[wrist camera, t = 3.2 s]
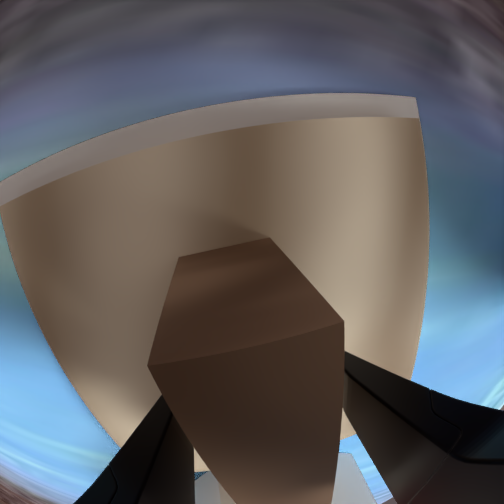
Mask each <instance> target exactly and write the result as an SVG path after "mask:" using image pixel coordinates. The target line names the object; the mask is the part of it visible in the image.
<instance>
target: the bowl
mask: <svg viewBox="0 0 504 504" xmlns="http://www.w3.org/2000/svg"><path fill="white" fill-rule="evenodd" d="M195 504H236V503H235V502H234V501H233V499H232V498H231V497H230V496H229V495H228V493H227V492H226V491H225V490H224V488H223V487H222V486H221V484H220V483H219V482H218V481H217V479H216V478H215V477H214V475H213V474H212V473H211V471H208V472H206V473H205V474H203V475H202V476H201V477H199V478H198V479H196V480H195ZM331 504H377V503H376V501H375V499H374V497H373V495H372V493H371V491H370V489H369V487H368V485H367V483H366V481H365V479H364V477H363V475H362V473H361V471H360V469H359V467H358V465H357V463H356V462H355V460H354V458H353V456H352V454H349V453H339V454H338V462H337V470H336V477H335V484H334V491H333V497H332V503H331Z"/></svg>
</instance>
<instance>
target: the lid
mask: <svg viewBox="0 0 504 504" xmlns="http://www.w3.org/2000/svg"><path fill="white" fill-rule="evenodd" d="M0 212H1V217H2V221H3V225H4V229H5V233H6V237H7V241H8V244H9V248H10V251H11V254H12V258H13V261H14V264H15V267H16V270H17V273H18V276H19V278H20V281H21V284H22V286H23V289H24V292H25V294H26V297H27V299H28V301H29V304H30V306H31V308H32V311H33V313H34V315H35V317H36V320H37V322H38V324H39V326H40V328H41V330H42V332H43V334H44V336H45V338H46V340H47V342H48V344H49V346H50V348H51V349H52V351H53V353H54V355H55V357H56V358H57V360H58V362H59V364H60V365H61V367H62V369H63V370H64V372H65V374H66V375H67V377H68V378H69V380H70V382H71V383H72V385H73V386H74V388H75V389H76V391H77V392H78V394H79V395H80V397H81V398H82V400H83V401H84V402H85V404H86V405H87V407H88V408H89V409H90V411H91V412H92V413H93V415H94V416H95V417H96V419H97V420H98V421H99V423H100V424H101V425H102V426H103V428H104V429H105V430H106V431H107V433H108V434H109V435H110V436H111V437H112V438H113V440H114V441H115V442H116V443H117V444H118V445H119V447H120V448H121V447H122V446H123V445H124V444H125V442H126V441H127V440H128V438H129V437H130V436H131V434H132V433H133V432H134V430H135V429H136V428H137V426H138V425H139V424H140V422H141V421H142V420H143V419H144V417H145V416H146V415H147V413H148V412H149V411H150V409H151V408H152V407H153V405H154V404H155V403H156V401H157V400H158V399H159V397H160V396H161V395H163V397H164V399H165V401H166V403H167V404H168V406H169V408H170V410H171V411H172V413H173V415H174V417H175V418H176V420H177V422H178V423H179V425H180V427H181V428H182V430H183V431H184V433H185V435H186V436H187V438H188V439H189V441H190V442H191V444H192V445H193V447H194V472H202V471H211V473H212V474H213V475H214V477H215V478H216V479H217V481H218V482H219V483H220V484H221V486H222V487H223V488H224V490H225V491H226V492H227V493H228V495H229V496H230V497H231V498H232V499H233V501H234V502H235V503H236V504H331V503H332V497H333V491H334V484H335V477H336V470H337V462H338V454H339V445H340V440H342V439H344V438H347V437H350V436H352V435H355V434H356V432H355V430H354V429H353V427H352V425H351V424H350V422H349V420H348V418H347V416H346V414H345V412H344V410H343V390H344V354H345V351H347V352H349V353H351V354H353V355H355V356H357V357H359V358H362V359H364V360H366V361H368V362H370V363H372V364H374V365H377V366H379V367H381V368H383V369H385V370H388V371H390V372H392V373H394V374H397V375H399V376H401V377H403V378H406V379H408V380H411V376H412V372H413V367H414V363H415V358H416V353H417V348H418V343H419V337H420V332H421V325H422V319H423V311H424V303H425V294H426V284H427V271H428V252H429V205H428V186H427V173H426V163H425V154H424V146H423V139H422V132H421V126H420V120H419V118H402V117H346V118H325V119H311V120H299V121H289V122H280V123H272V124H264V125H257V126H250V127H244V128H237V129H231V130H226V131H220V132H215V133H210V134H205V135H200V136H196V137H191V138H187V139H182V140H178V141H174V142H170V143H166V144H162V145H158V146H154V147H151V148H147V149H143V150H140V151H137V152H133V153H130V154H127V155H123V156H120V157H117V158H114V159H111V160H108V161H105V162H102V163H99V164H96V165H93V166H91V167H88V168H85V169H82V170H80V171H77V172H74V173H72V174H69V175H67V176H64V177H62V178H59V179H57V180H55V181H52V182H50V183H48V184H45V185H43V186H41V187H39V188H36V189H34V190H32V191H30V192H28V193H26V194H24V195H21V196H19V197H17V198H15V199H13V200H11V201H9V202H8V203H6V204H4V205H2V206H0Z"/></svg>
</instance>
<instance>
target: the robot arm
mask: <svg viewBox="0 0 504 504" xmlns="http://www.w3.org/2000/svg"><path fill="white" fill-rule="evenodd" d="M343 410H344V412H345V414H346V416H347V418H348V420H349V422H350V424H351V425H352V427H353V429H354V430H355V432H356V434H357V435H358V437H359V439H360V441H361V442H362V444H363V446H364V447H365V449H366V451H367V453H368V454H369V456H370V458H371V459H372V461H373V463H374V465H375V466H376V468H377V470H378V471H379V473H380V475H381V476H382V478H383V480H384V482H385V483H386V485H387V487H388V488H389V490H390V492H391V494H392V495H393V497H394V499H395V500H396V502H397V504H504V411H502V410H498V409H493V408H489V407H485V406H481V405H477V404H473V403H469V402H465V401H462V400H458V399H455V398H452V397H450V396H447V395H444V394H442V393H439V392H437V391H434V390H430V389H429V388H427V387H424V386H422V385H420V384H417V383H415V382H413V381H410V380H408V379H406V378H403V377H401V376H399V375H397V374H394V373H392V372H390V371H388V370H385V369H383V368H381V367H379V366H377V365H374V364H372V363H370V362H368V361H366V360H364V359H362V358H359V357H357V356H355V355H353V354H351V353H349V352H347V351H345V354H344V390H343ZM73 504H195V476H194V447H193V445H192V444H191V442H190V441H189V439H188V438H187V436H186V435H185V433H184V431H183V430H182V428H181V427H180V425H179V423H178V422H177V420H176V418H175V417H174V415H173V413H172V411H171V410H170V408H169V406H168V404H167V403H166V401H165V399H164V397H163V395H161V396H160V397H159V399H158V400H157V401H156V403H155V404H154V405H153V407H152V408H151V409H150V411H149V412H148V413H147V415H146V416H145V417H144V419H143V420H142V421H141V422H140V424H139V425H138V426H137V428H136V429H135V430H134V432H133V433H132V434H131V436H130V437H129V438H128V440H127V441H126V442H125V444H124V445H123V446H122V447H121V449H120V450H119V451H118V453H117V454H116V455H115V457H114V458H113V459H112V460H111V462H110V463H109V465H108V466H107V467H106V468H105V469H104V471H103V472H102V473H101V474H100V476H99V477H98V478H97V479H96V480H95V482H94V483H93V484H92V485H91V486H90V487H89V488H88V489H87V490H86V492H85V493H84V494H83V495H82V496H81V497H80V498H79V499H78V500H77V501H76V502H74V503H73Z"/></svg>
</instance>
